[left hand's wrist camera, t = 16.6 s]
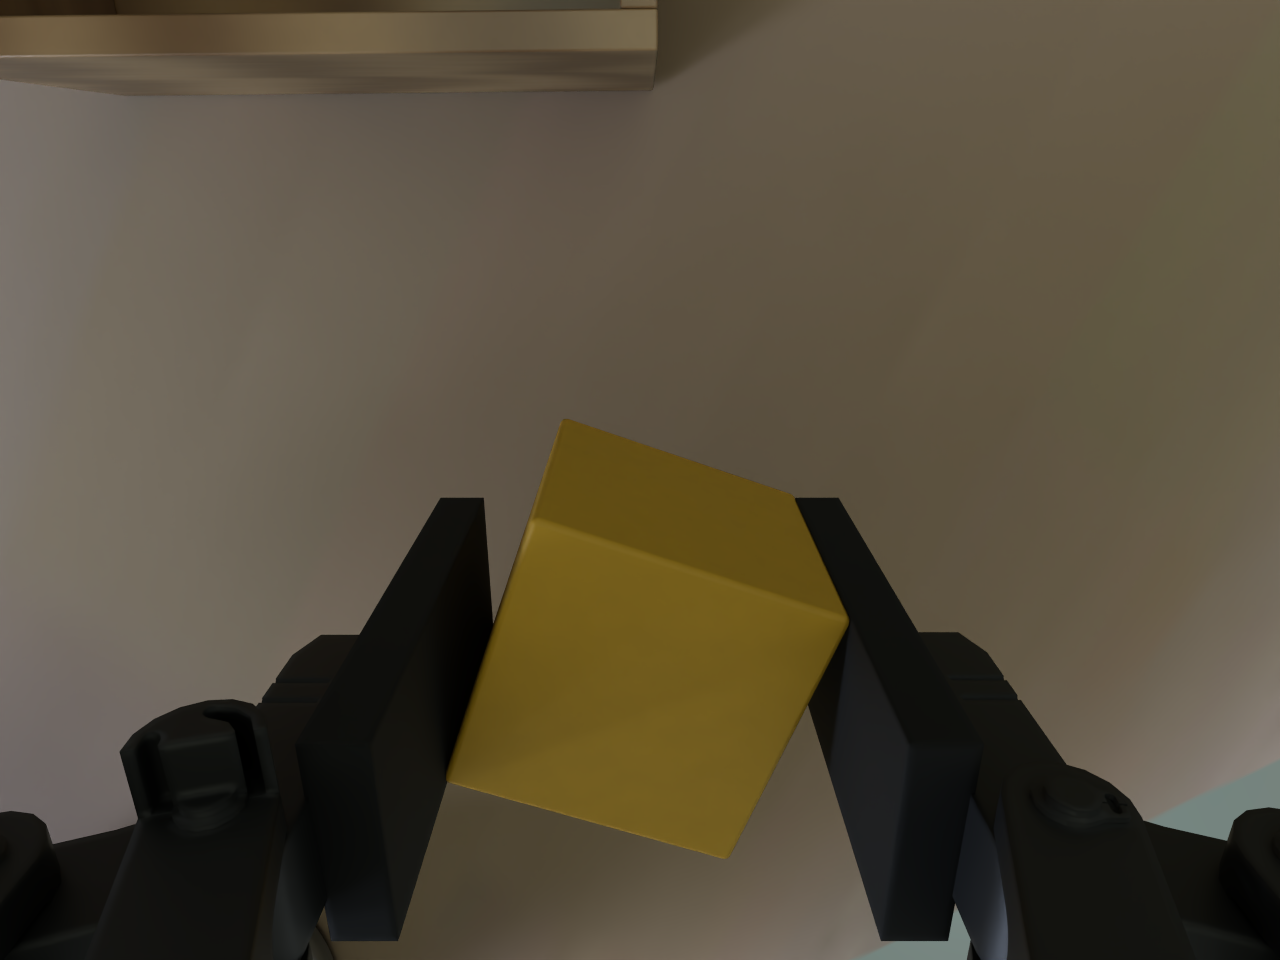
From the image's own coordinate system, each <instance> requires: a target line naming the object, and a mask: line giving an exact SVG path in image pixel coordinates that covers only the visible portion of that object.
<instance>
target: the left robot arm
mask: <svg viewBox="0 0 1280 960" xmlns="http://www.w3.org/2000/svg"><path fill="white" fill-rule="evenodd" d="M795 501H796V503H797V505H798V507H799V509H800V512H801V514H802V516H803V518H804V520H805V522H806V525H807V527H808V529H809V531H810V533H811V536H812V538H813V540H814V542H815V544H816V547H817V549H818V551H819V553H820V555H821V557H822V560H823V562H824V564H825V566H826V568H827V571H828V573H829V575H830V577H831V579H832V582H833V584H834V586H835V588H836V590H837V592H838V595H839V597H840V599H841V601H842V603H843V606H844V608H845V610H846V612H847V614H848V617H849V625H848V627H847V629H846V631H845V633H844V635H843V637H842V639H841V641H840V643H839V645H838V647H837V649H836V651H835V653H834V655H833V656H832V658H831V660H830V662H829V664H828V666H827V668H826V670H825V672H824V674H823V676H822V678H821V680H820V682H819V684H818V686H817V688H816V690H815V691H814V693H813V695H812V697H811V699H810V701H809V703H808V706H809V710H810V713H811V716H812V719H813V723H814V726H815V729H816V732H817V735H818V739H819V742H820V745H821V748H822V752H823V755H824V758H825V761H826V765H827V768H828V771H829V774H830V777H831V781H832V784H833V787H834V790H835V794H836V797H837V800H838V803H839V807H840V810H841V813H842V816H843V819H844V823H845V826H846V829H847V832H848V836H849V839H850V842H851V845H852V849H853V852H854V855H855V858H856V861H857V865H858V868H859V871H860V874H861V878H862V881H863V884H864V887H865V891H866V894H867V897H868V900H869V903H870V907H871V910H872V913H873V916H874V920H875V923H876V926H877V929H878V933H879V936H880V939H881V941H948V938H949V933H950V927H951V922H952V917H953V911H954V906H955V904H956V906H957V908H958V911H959V913H960V915H961V918H962V920H963V922H964V925H965V927H966V929H967V932H968V934H969V936H970V939H971V941H970V946H969V951H968V956H967V960H1280V809H1276V808H1269V807H1268V808H1261V809H1253V810H1247V811H1245V812H1244V813H1243V814H1241V815H1240V816H1239V817H1238V818H1236V819H1235V820H1234V822H1233V825H1232V828H1231V831H1230V834H1229V837H1228V840H1227V841H1225V840H1221V839H1216V838H1212V837H1207V836H1203V835H1199V834H1194V833H1189V832H1185V831H1181V830H1176V829H1172V828H1168V827H1163V826H1160V825H1157V824H1153V823H1150V822H1147V821H1143V819H1142V817H1141V815H1140V814H1139V812H1138V811H1137V809H1136V808H1135V806H1134V805H1133V803H1132V802H1131V800H1130V799H1129V798H1128V797H1126V796H1125V795H1124V794H1123V793H1122V792H1120V791H1119V790H1118V789H1117V788H1116V787H1114V786H1113V785H1112V784H1111V783H1109V782H1107V781H1105V780H1103V779H1101V778H1100V777H1098V776H1096V775H1094V774H1092V773H1090V772H1088V771H1086V770H1083V769H1080V768H1076V767H1073V766H1069V765H1066V763H1065V762H1064V760H1063V759H1062V758H1061V756H1060V755H1059V753H1058V752H1057V750H1056V749H1055V748H1054V746H1053V745H1052V743H1051V742H1050V741H1049V739H1048V738H1047V736H1046V735H1045V734H1044V732H1043V731H1042V729H1041V728H1040V726H1039V725H1038V724H1037V722H1036V721H1035V719H1034V718H1033V717H1032V715H1031V714H1030V712H1029V711H1028V710H1027V708H1026V707H1025V705H1024V704H1023V703H1022V701H1021V700H1018V699H1017V694H1016V693H1015V691H1014V690H1013V688H1012V687H1011V686H1010V684H1009V683H1008V681H1007V680H1004V678H1003V677H1004V676H1003V674H1002V673H1001V671H1000V670H999V669H998V667H997V666H996V664H995V663H994V662H993V660H992V659H991V657H990V656H989V655H988V653H987V652H986V651H984V650H983V649H981V648H980V647H979V646H977V645H976V644H974V643H973V642H971V641H970V640H969V639H967V638H966V637H964V636H963V635H961V634H960V633H959V632H918V631H917V630H916V628H915V626H914V624H913V623H912V621H911V619H910V618H909V616H908V614H907V613H906V611H905V609H904V608H903V606H902V604H901V603H900V601H899V599H898V597H897V596H896V594H895V592H894V591H893V589H892V587H891V586H890V584H889V582H888V581H887V579H886V577H885V576H884V574H883V572H882V570H881V569H880V567H879V565H878V564H877V562H876V560H875V559H874V557H873V555H872V554H871V552H870V550H869V549H868V547H867V545H866V543H865V542H864V540H863V538H862V537H861V535H860V533H859V532H858V530H857V528H856V527H855V525H854V523H853V522H852V520H851V518H850V516H849V515H848V513H847V511H846V510H845V508H844V506H843V505H842V503H841V501H840V500H839V498H795ZM492 627H493V616H492V603H491V589H490V576H489V562H488V549H487V535H486V522H485V508H484V498H440V500H439V501H438V503H437V505H436V506H435V508H434V510H433V512H432V513H431V515H430V517H429V518H428V520H427V522H426V523H425V525H424V527H423V528H422V530H421V532H420V533H419V535H418V537H417V539H416V540H415V542H414V544H413V545H412V547H411V549H410V550H409V552H408V554H407V555H406V557H405V559H404V560H403V562H402V564H401V566H400V567H399V569H398V571H397V572H396V574H395V576H394V577H393V579H392V581H391V582H390V584H389V586H388V587H387V589H386V591H385V593H384V594H383V596H382V598H381V599H380V601H379V603H378V604H377V606H376V608H375V609H374V611H373V613H372V614H371V616H370V618H369V620H368V621H367V623H366V625H365V626H364V628H363V630H362V631H361V633H360V635H320V636H319V637H317V638H316V639H315V640H313V641H312V642H310V643H309V644H308V645H306V646H305V647H303V648H302V649H300V650H299V651H298V652H296V653H295V654H293V655H292V656H291V658H290V659H289V661H288V662H287V664H286V665H285V666H284V668H283V669H282V671H281V672H280V673H279V675H278V676H277V678H276V683H272V685H271V686H270V688H269V689H268V691H267V692H266V693H265V695H264V696H263V698H262V703H258V705H257V706H255V705H253V704H251V703H247V702H243V701H238V700H234V699H228V700H208V701H204V702H200V703H196V704H192V705H188V706H184V707H180V708H178V709H175V710H173V711H171V712H169V713H167V714H164V715H162V716H160V717H158V718H155V719H154V720H152V721H151V722H149V723H148V724H147V725H145V726H144V727H142V728H141V729H140V730H138V731H137V732H136V733H134V734H133V735H132V736H131V737H130V739H129V740H128V741H127V743H126V744H125V745H124V747H123V748H122V749H121V751H120V755H121V759H122V762H123V766H124V770H125V773H126V777H127V780H128V784H129V787H130V791H131V795H132V798H133V802H134V805H135V809H136V812H137V816H138V821H137V823H136V824H134V825H131V826H128V827H124V828H121V829H117V830H114V831H109V832H105V833H101V834H96V835H92V836H87V837H83V838H79V839H74V840H70V841H65V842H61V843H57V844H52V841H51V838H50V835H49V832H48V829H47V826H46V824H45V823H44V822H43V821H42V820H40V819H39V818H38V817H36V816H35V815H34V814H30V813H22V812H14V811H8V812H1V813H0V960H333V957H332V954H331V952H330V950H329V948H328V945H327V944H326V942H325V940H324V939H323V937H322V935H321V934H320V932H319V931H318V929H317V928H316V924H317V922H318V919H319V917H320V915H321V912H322V910H323V908H324V906H325V911H326V916H327V922H328V927H329V933H330V938H331V941H398V939H399V936H400V933H401V930H402V926H403V923H404V920H405V917H406V914H407V910H408V907H409V904H410V901H411V897H412V894H413V891H414V888H415V884H416V881H417V878H418V875H419V872H420V868H421V865H422V862H423V859H424V855H425V852H426V849H427V846H428V842H429V839H430V836H431V833H432V830H433V826H434V823H435V820H436V817H437V813H438V810H439V807H440V804H441V801H442V797H443V794H444V791H445V788H446V784H447V781H446V770H447V767H448V764H449V761H450V758H451V754H452V751H453V748H454V745H455V742H456V739H457V736H458V733H459V730H460V726H461V723H462V720H463V717H464V714H465V711H466V708H467V705H468V702H469V698H470V695H471V692H472V689H473V686H474V683H475V680H476V677H477V674H478V670H479V667H480V664H481V661H482V658H483V655H484V652H485V649H486V646H487V642H488V639H489V636H490V633H491V630H492Z"/></svg>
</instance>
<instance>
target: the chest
mask: <svg viewBox="0 0 1280 960" xmlns="http://www.w3.org/2000/svg"><path fill="white" fill-rule="evenodd" d="M657 52H658V0H0V79H1V80H9V81H16V82H24V83H31V84H39V85H46V86H54V87H62V88H69V89H77V90H84V91H92V92H100V93H107V94H116V95H123V96H151V95H247V94H342V93H438V92H534V91H630V90H652V89H653V87H654V79H655V70H656V61H657Z"/></svg>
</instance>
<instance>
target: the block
mask: <svg viewBox="0 0 1280 960" xmlns="http://www.w3.org/2000/svg"><path fill="white" fill-rule="evenodd" d="M848 625H849V617H848V614H847V612H846V610H845V608H844V606H843V603H842V601H841V599H840V597H839V595H838V592H837V590H836V588H835V586H834V584H833V582H832V579H831V577H830V575H829V573H828V571H827V568H826V566H825V564H824V562H823V560H822V557H821V555H820V553H819V551H818V549H817V547H816V544H815V542H814V540H813V538H812V536H811V533H810V531H809V529H808V527H807V525H806V522H805V520H804V518H803V516H802V514H801V512H800V509H799V507H798V505H797V503H796V501H795V498H794V496H792V495H791V494H789V493H786V492H783V491H780V490H777V489H774V488H771V487H768V486H765V485H762V484H759V483H756V482H753V481H750V480H747V479H744V478H741V477H738V476H735V475H732V474H729V473H726V472H723V471H720V470H718V469H715V468H712V467H709V466H706V465H703V464H700V463H697V462H694V461H691V460H688V459H685V458H682V457H679V456H676V455H673V454H670V453H667V452H664V451H661V450H658V449H655V448H652V447H649V446H646V445H644V444H641V443H638V442H635V441H632V440H629V439H626V438H623V437H620V436H617V435H614V434H611V433H608V432H605V431H602V430H599V429H596V428H593V427H590V426H587V425H584V424H581V423H578V422H575V421H572V420H570V419H563V421H562V422H561V423H560V426H559V429H558V432H557V435H556V438H555V441H554V444H553V447H552V450H551V453H550V456H549V459H548V462H547V465H546V468H545V471H544V474H543V477H542V480H541V483H540V486H539V489H538V492H537V495H536V498H535V501H534V504H533V507H532V510H531V513H530V516H529V519H528V522H527V525H526V528H525V531H524V534H523V537H522V540H521V543H520V546H519V549H518V552H517V555H516V558H515V561H514V564H513V567H512V570H511V573H510V576H509V579H508V582H507V585H506V588H505V591H504V594H503V597H502V600H501V603H500V606H499V609H498V612H497V615H496V618H495V621H494V624H493V627H492V630H491V633H490V636H489V639H488V642H487V646H486V649H485V652H484V655H483V658H482V661H481V664H480V667H479V670H478V674H477V677H476V680H475V683H474V686H473V689H472V692H471V695H470V698H469V702H468V705H467V708H466V711H465V714H464V717H463V720H462V723H461V726H460V730H459V733H458V736H457V739H456V742H455V745H454V748H453V751H452V754H451V758H450V761H449V764H448V767H447V770H446V781H448V782H449V783H452V784H456V785H459V786H463V787H466V788H470V789H474V790H477V791H481V792H484V793H488V794H492V795H495V796H499V797H502V798H506V799H510V800H513V801H517V802H520V803H524V804H528V805H531V806H535V807H538V808H542V809H546V810H549V811H553V812H556V813H560V814H564V815H567V816H571V817H575V818H578V819H582V820H585V821H589V822H593V823H596V824H600V825H603V826H607V827H611V828H614V829H618V830H621V831H625V832H629V833H632V834H636V835H639V836H643V837H647V838H650V839H654V840H657V841H661V842H665V843H668V844H672V845H675V846H679V847H683V848H686V849H690V850H693V851H697V852H701V853H704V854H708V855H712V856H715V857H719V858H722V859H727V858H728V857H730V855H731V853H732V851H733V849H734V847H735V845H736V843H737V841H738V839H739V837H740V835H741V833H742V831H743V829H744V827H745V825H746V824H747V822H748V820H749V818H750V816H751V814H752V812H753V810H754V808H755V806H756V804H757V802H758V800H759V798H760V796H761V794H762V792H763V791H764V789H765V787H766V785H767V783H768V781H769V779H770V777H771V775H772V773H773V771H774V769H775V767H776V765H777V763H778V761H779V759H780V758H781V756H782V754H783V752H784V750H785V748H786V746H787V744H788V742H789V740H790V738H791V736H792V734H793V732H794V730H795V728H796V726H797V724H798V723H799V721H800V719H801V717H802V715H803V713H804V711H805V709H806V707H807V705H808V703H809V701H810V699H811V697H812V695H813V693H814V691H815V690H816V688H817V686H818V684H819V682H820V680H821V678H822V676H823V674H824V672H825V670H826V668H827V666H828V664H829V662H830V660H831V658H832V656H833V655H834V653H835V651H836V649H837V647H838V645H839V643H840V641H841V639H842V637H843V635H844V633H845V631H846V629H847V627H848Z"/></svg>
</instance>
